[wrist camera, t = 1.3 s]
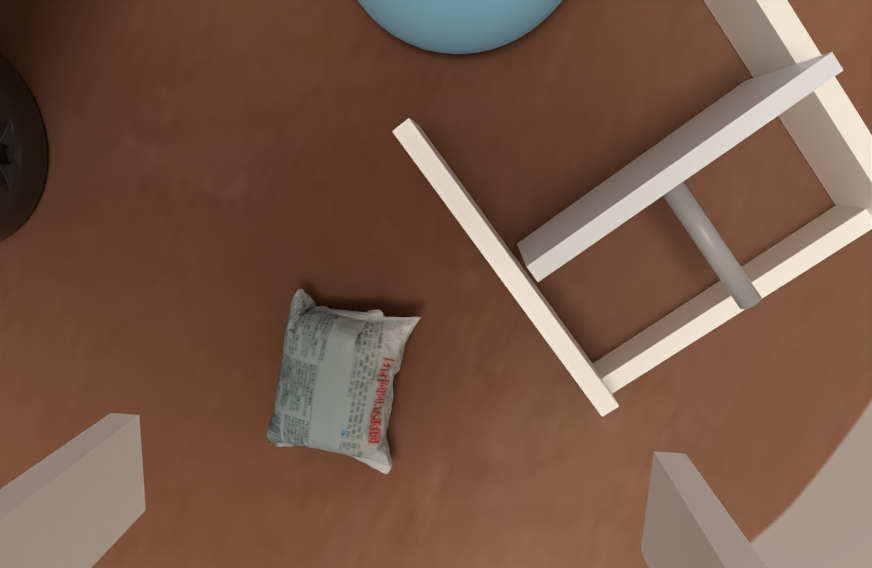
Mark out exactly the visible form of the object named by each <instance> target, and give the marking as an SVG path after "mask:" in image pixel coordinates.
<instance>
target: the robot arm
mask: <svg viewBox="0 0 872 568" xmlns="http://www.w3.org/2000/svg"><path fill="white" fill-rule="evenodd" d="M46 170H47V144H46V136H45V131H44V127H43V123H42V119H41V116H40V114H39V111H38V108H37V106H36V103H35V101H34V99H33V97H32V95H31V93H30V92H29V90H28V88H27V86H26V85H25V83H24V82H23V80H22V79H21V78H20V76H19V75H18V74H17V72H16V71H15V70H14V69H13V68H12V66H11V65H10V64H9V63H8V62H7V61H6V60H5V59H4V58H3V57H2V56H1V55H0V241H1V240H3V239H5V238H7V237H8V236H10V235H11V234H12V233H14V232H15V231H16V230H17V229H18V228H19V227H20V226H21V225H22V224H23V223H24V222H25V221H26V220H27V218H28V217H29V216H30V214H31V213H32V211H33V210H34V208H35V206H36V204H37V202H38V200H39V197H40V195H41V192H42V189H43V186H44V182H45V177H46ZM145 510H146V507H145V493H144V478H143V464H142V449H141V434H140V420H139V415H132V414H118V413H110V414H108V415H107V416H106V417H104V418H103V419H101V420H100V421H98V422H97V423H95V424H94V425H93V426H91V427H90V428H88V429H87V430H85V431H84V432H82V433H81V434H79V435H78V436H77V437H75V438H74V439H72V440H71V441H69V442H68V443H66V444H65V445H64V446H62V447H61V448H59V449H58V450H56V451H55V452H53V453H52V454H50V455H49V456H48V457H46V458H45V459H43V460H42V461H40V462H39V463H37V464H36V465H35V466H33V467H32V468H30V469H29V470H27V471H26V472H24V473H23V474H21V475H20V476H19V477H17V478H16V479H14V480H13V481H11V482H10V483H8V484H7V485H5V486H4V487H3V488H1V489H0V568H91V567H92V566H93V565H94V564H95V563H96V562H97V561H98V560H99V559H100V558H101V557H102V556H103V555H104V554H105V553H106V552H107V550H108V549H109V548H110V547H111V546H112V545H113V544H114V543H115V542H116V541H117V540H118V539H119V538H120V537H121V536H122V535H123V534H124V533H125V531H126V530H127V529H128V528H129V527H130V526H131V525H132V524H133V523H134V522H135V521H136V520H137V519H138V518H139V517H140V516H141V515H142V513H143V512H144V511H145ZM641 551H642V554H643V556H644V559H645V561H646V563H647V566H648V568H767V567H766V565H765V564H764V562H763V561H762V560H761V558H760V557H759V555H758V554H757V553H756V551H755V550H754V549H753V547H752V546H751V544H750V543H749V542H748V540H747V539H746V537H745V536H744V535H743V533H742V532H741V530H740V529H739V528H738V526H737V525H736V523H735V522H734V521H733V519H732V518H731V516H730V515H729V514H728V512H727V511H726V509H725V508H724V507H723V505H722V504H721V502H720V501H719V500H718V498H717V497H716V496H715V494H714V493H713V491H712V490H711V489H710V487H709V486H708V484H707V483H706V482H705V480H704V479H703V477H702V476H701V475H700V473H699V472H698V470H697V469H696V468H695V466H694V465H693V463H692V462H691V461H690V459H689V458H688V456H687V455H686V454H681V453H667V452H654V455H653V462H652V470H651V478H650V485H649V493H648V500H647V508H646V515H645V523H644V530H643V538H642V545H641Z"/></svg>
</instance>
